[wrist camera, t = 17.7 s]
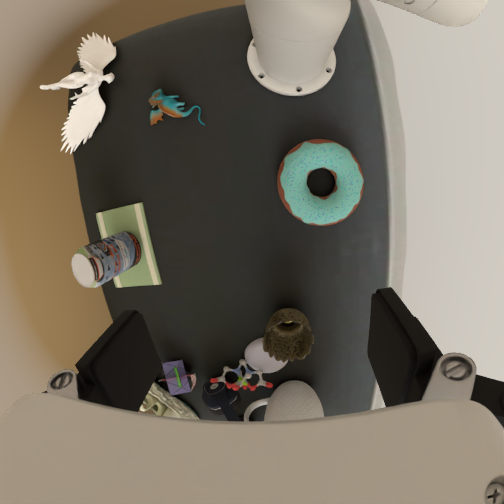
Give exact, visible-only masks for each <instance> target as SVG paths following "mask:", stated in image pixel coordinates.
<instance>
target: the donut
mask: <svg viewBox="0 0 504 504" xmlns="http://www.w3.org/2000/svg"><path fill="white" fill-rule="evenodd" d="M317 168H325V169H328V170H329V171H330V172H332V174H333V175H334V177H335V181H336V184H335V188H334V190H333V192H332V193H331V194H330V195H328V196H325V197H318V196H315V195H313V194H312V193H311V192H310V190H309V188H308V187H307V178H308V175H309V174H310V173H311V171H313V170H314V169H317ZM277 186H278V192H279V195H280V198H281V200H282V202H283V204H284V206H285V207H286V208H287V210H288V211H289V212H290V213H291V214H292V215H293V216H295V217H296V218H297V219H299V220H301V221H303V222H305V223H308V224H311V225H318V226H325V225H332V224H335V223H338V222H340V221H342V220H344V219H345V218H347V217H348V216H349V215H351V213H352V212H353V211H354V210H355V209H356V207H357V206H358V204H359V202H360V200H361V197H362V194H363V187H364V181H363V174H362V170H361V167H360V165H359V163H358V161H357V160H356V158H355V157H354V155H353V154H352V153H351V152H350V151H349V150H348V149H346V148H345V147H343V146H342V145H340V144H339V143H336V142H334V141H331V140H326V139H312V140H308V141H304V142H302V143H300V144H298V145H296V146H295V147H294V148H293V149H291V150H290V151H289V152H288V153H287V155H286V156H285V157H284V159H283V161H282V162H281V164H280V167H279V171H278V177H277Z"/></svg>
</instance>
